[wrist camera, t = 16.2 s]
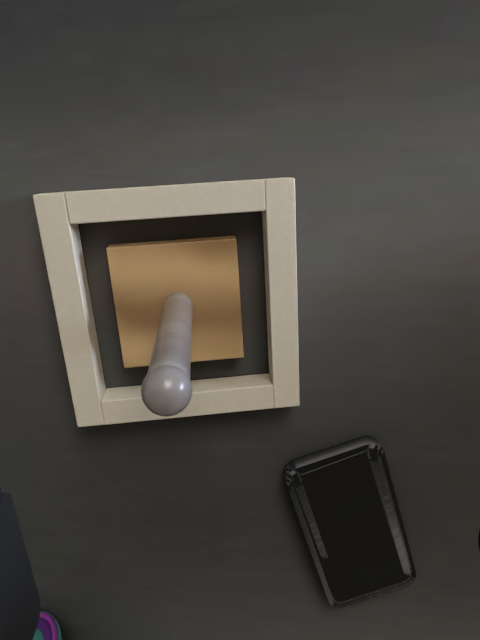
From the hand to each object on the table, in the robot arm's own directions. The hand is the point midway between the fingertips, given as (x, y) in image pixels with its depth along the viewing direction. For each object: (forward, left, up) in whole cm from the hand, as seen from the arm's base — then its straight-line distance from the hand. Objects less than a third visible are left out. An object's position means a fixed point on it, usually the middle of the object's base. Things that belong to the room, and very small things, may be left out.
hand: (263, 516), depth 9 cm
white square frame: (+2, -3, -23) cm, 23 cm away
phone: (+22, +9, -23) cm, 33 cm away
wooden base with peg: (+2, -3, -23) cm, 23 cm away
